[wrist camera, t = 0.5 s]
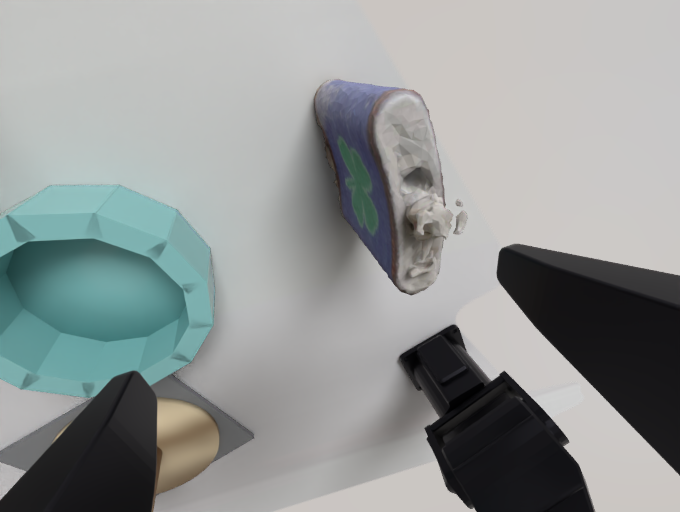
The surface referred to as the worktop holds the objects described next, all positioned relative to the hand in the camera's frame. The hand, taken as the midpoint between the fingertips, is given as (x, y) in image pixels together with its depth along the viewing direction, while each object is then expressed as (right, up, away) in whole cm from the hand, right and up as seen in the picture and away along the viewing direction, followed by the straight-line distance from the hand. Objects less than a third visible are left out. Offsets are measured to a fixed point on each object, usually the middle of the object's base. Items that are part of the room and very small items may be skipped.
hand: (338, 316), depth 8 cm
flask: (0, +8, +13) cm, 15 cm away
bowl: (-14, 0, +12) cm, 18 cm away
